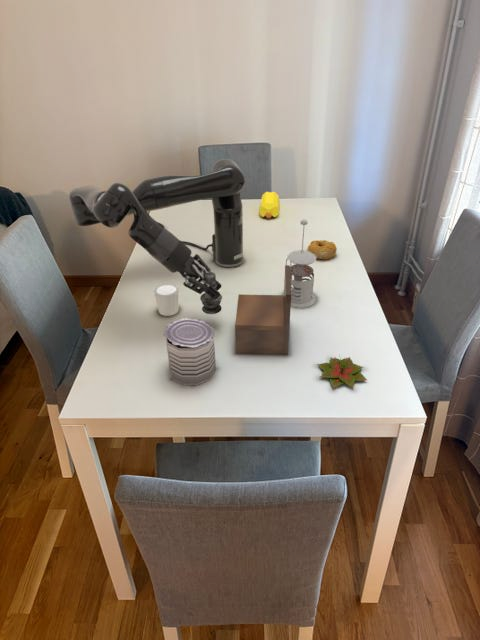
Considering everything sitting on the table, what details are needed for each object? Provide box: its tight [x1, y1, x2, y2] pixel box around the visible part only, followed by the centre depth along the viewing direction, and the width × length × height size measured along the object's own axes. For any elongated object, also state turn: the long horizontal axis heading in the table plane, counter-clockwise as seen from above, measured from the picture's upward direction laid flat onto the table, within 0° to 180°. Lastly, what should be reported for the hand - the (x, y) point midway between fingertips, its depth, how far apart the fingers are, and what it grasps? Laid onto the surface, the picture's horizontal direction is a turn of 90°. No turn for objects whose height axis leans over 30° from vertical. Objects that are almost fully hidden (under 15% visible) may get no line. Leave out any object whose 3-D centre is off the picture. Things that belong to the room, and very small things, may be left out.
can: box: [162, 317, 217, 386], centre depth 115 cm, size 11×11×12 cm
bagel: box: [306, 239, 338, 261], centre depth 166 cm, size 10×11×5 cm
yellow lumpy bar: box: [258, 191, 280, 219], centre depth 196 cm, size 18×7×8 cm
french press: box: [285, 218, 317, 309], centre depth 138 cm, size 10×12×25 cm
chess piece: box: [199, 269, 223, 315], centre depth 127 cm, size 6×6×12 cm
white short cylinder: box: [153, 283, 180, 317], centre depth 138 cm, size 7×7×7 cm
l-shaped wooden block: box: [234, 264, 292, 356], centre depth 123 cm, size 13×14×18 cm
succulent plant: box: [316, 354, 368, 389], centre depth 115 cm, size 12×12×5 cm
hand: (218, 292), depth 128 cm, fingers closed on chess piece, 3 cm apart
